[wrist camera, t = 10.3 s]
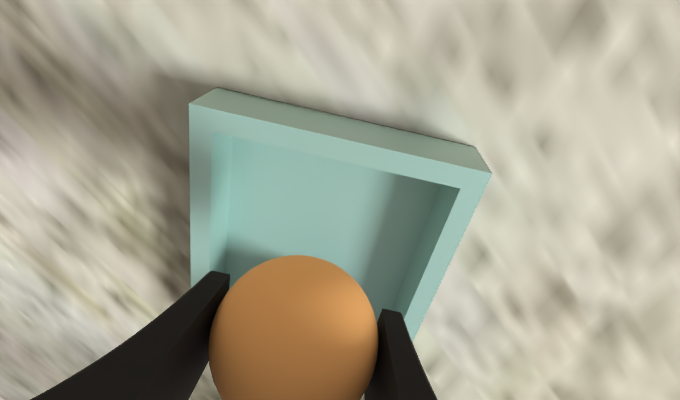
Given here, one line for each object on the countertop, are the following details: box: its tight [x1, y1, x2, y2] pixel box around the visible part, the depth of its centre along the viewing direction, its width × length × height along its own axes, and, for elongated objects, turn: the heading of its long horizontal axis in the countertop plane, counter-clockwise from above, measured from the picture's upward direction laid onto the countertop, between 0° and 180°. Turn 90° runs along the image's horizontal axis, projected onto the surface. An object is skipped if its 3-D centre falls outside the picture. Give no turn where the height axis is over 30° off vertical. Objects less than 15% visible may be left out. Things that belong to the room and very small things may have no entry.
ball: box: [208, 255, 379, 400], centre depth 11 cm, size 5×5×5 cm
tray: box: [189, 87, 492, 342], centre depth 20 cm, size 16×13×3 cm
